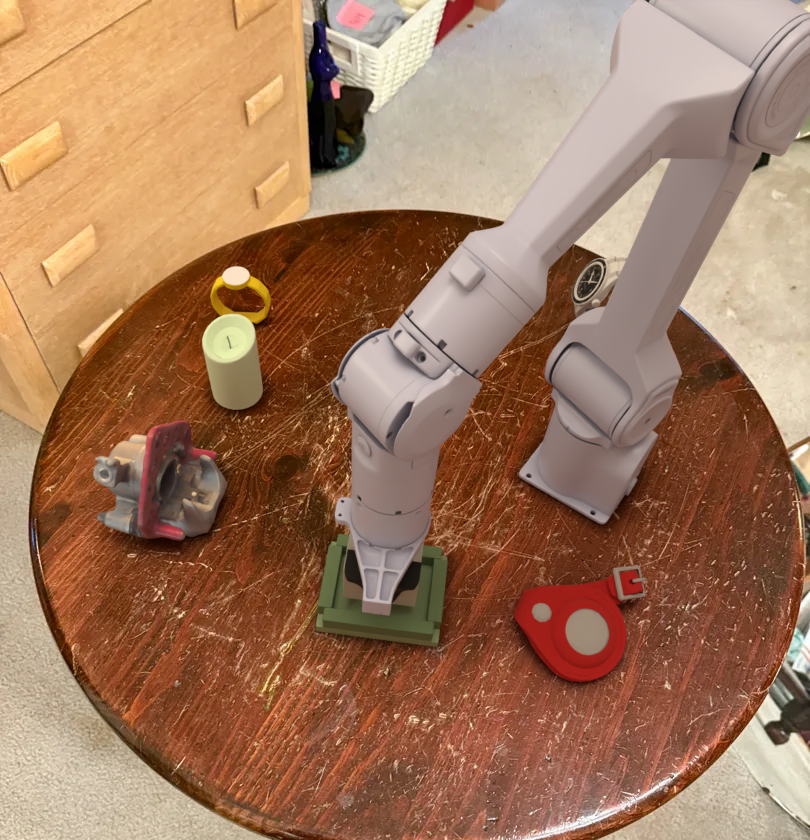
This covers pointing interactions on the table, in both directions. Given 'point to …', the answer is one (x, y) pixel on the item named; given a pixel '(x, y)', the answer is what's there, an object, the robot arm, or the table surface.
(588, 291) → the watch
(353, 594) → the grey beige block
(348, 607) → the green tray
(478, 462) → the table surface
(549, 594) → the tracker holder
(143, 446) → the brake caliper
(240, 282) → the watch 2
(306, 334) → the table surface
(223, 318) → the candle
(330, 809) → the table surface
